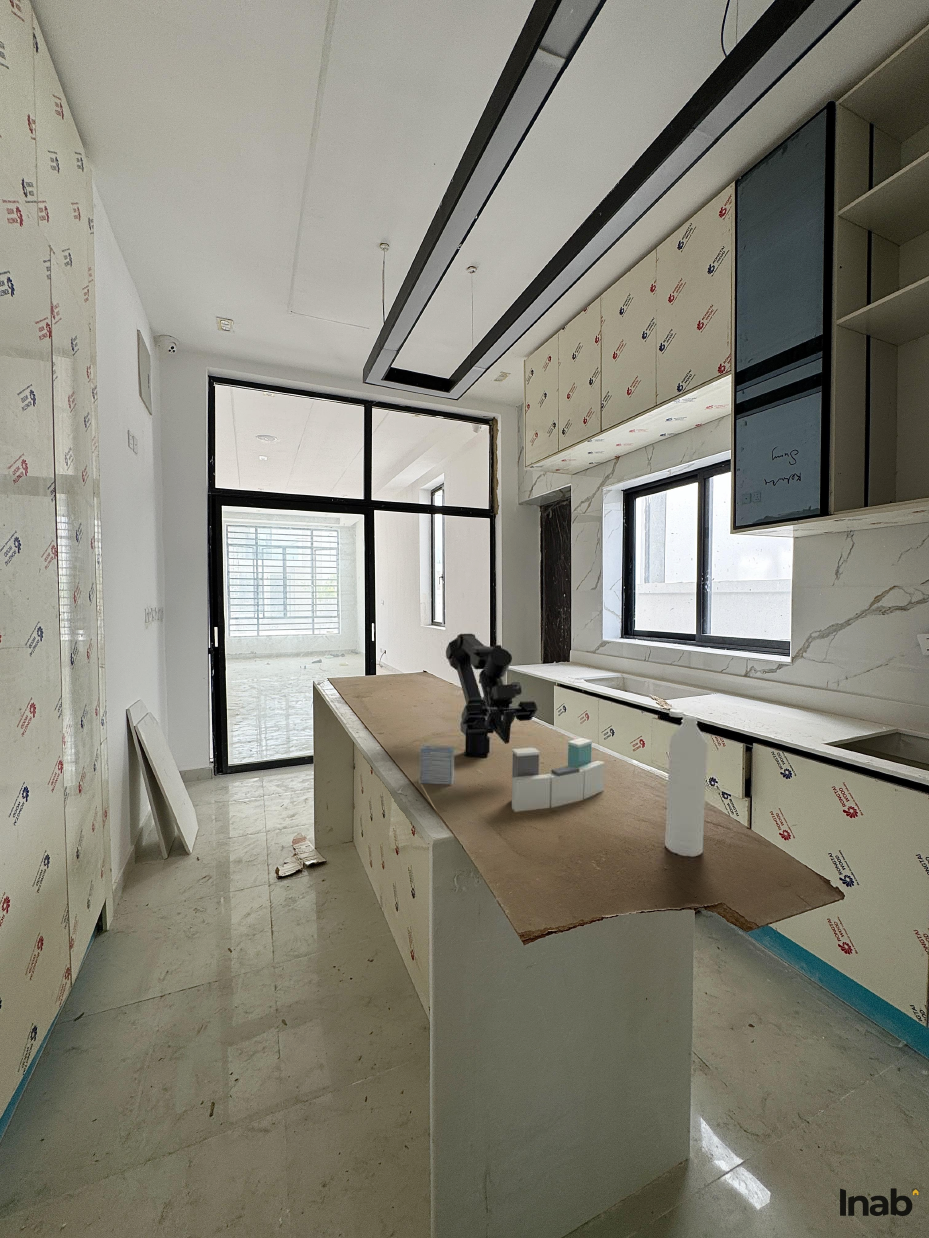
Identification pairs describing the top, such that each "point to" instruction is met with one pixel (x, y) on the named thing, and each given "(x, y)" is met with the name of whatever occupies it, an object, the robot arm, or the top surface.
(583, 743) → the teal and white block
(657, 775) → the top surface
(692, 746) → the water bottle
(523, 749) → the grey and white block
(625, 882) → the top surface
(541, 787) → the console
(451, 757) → the medicine box
